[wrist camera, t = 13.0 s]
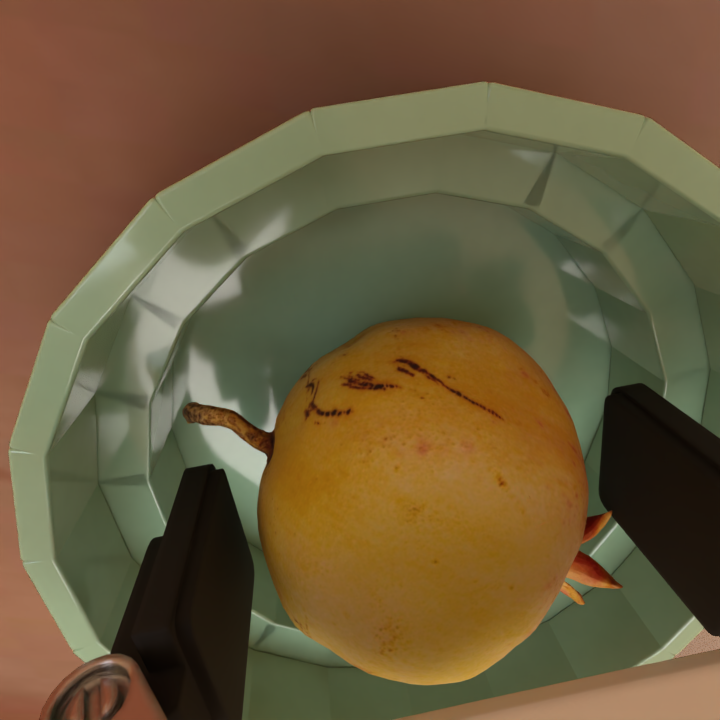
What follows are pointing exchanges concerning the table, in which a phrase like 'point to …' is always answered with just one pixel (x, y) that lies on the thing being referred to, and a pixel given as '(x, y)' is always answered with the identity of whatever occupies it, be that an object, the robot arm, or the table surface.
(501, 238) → the bowl
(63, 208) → the table surface
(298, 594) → the fruit
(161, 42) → the table surface
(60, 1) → the table surface
